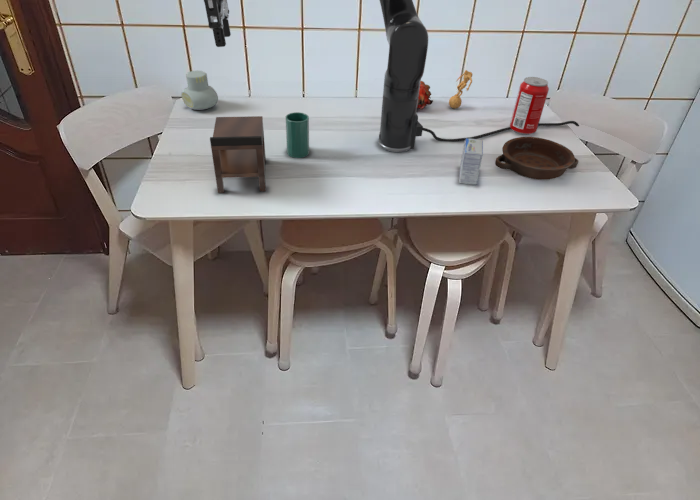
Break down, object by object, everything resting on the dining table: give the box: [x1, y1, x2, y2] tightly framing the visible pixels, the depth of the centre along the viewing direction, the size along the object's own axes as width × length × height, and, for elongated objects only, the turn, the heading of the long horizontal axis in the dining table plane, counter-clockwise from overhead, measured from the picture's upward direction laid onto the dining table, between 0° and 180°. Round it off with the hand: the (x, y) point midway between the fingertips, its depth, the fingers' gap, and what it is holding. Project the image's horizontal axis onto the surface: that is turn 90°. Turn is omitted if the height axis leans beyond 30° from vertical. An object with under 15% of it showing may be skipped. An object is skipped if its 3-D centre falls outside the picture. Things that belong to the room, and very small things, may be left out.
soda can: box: [509, 76, 550, 136], centre depth 144 cm, size 8×8×15 cm
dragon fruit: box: [417, 80, 434, 110], centre depth 157 cm, size 8×8×12 cm
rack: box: [209, 115, 267, 194], centre depth 118 cm, size 11×15×14 cm
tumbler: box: [285, 112, 310, 159], centre depth 130 cm, size 6×6×10 cm
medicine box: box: [458, 137, 484, 186], centre depth 124 cm, size 8×4×9 cm, turn 168°
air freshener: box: [181, 70, 219, 111], centre depth 150 cm, size 11×8×10 cm
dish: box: [494, 136, 579, 181], centre depth 130 cm, size 18×22×5 cm
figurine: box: [448, 69, 473, 110], centre depth 156 cm, size 8×6×12 cm
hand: (223, 41), depth 117 cm, fingers open, 8 cm apart
